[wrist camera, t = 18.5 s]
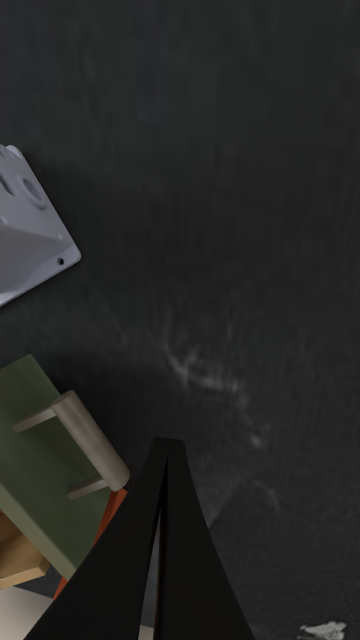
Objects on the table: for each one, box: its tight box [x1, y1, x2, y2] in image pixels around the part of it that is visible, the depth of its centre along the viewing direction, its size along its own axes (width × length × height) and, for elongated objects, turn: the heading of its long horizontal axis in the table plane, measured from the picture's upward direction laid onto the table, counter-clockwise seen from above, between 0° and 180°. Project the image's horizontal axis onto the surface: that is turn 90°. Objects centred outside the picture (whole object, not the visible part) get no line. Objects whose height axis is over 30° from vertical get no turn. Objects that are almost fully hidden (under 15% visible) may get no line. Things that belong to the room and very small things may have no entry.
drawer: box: [0, 354, 130, 590], centre depth 14 cm, size 17×13×6 cm
